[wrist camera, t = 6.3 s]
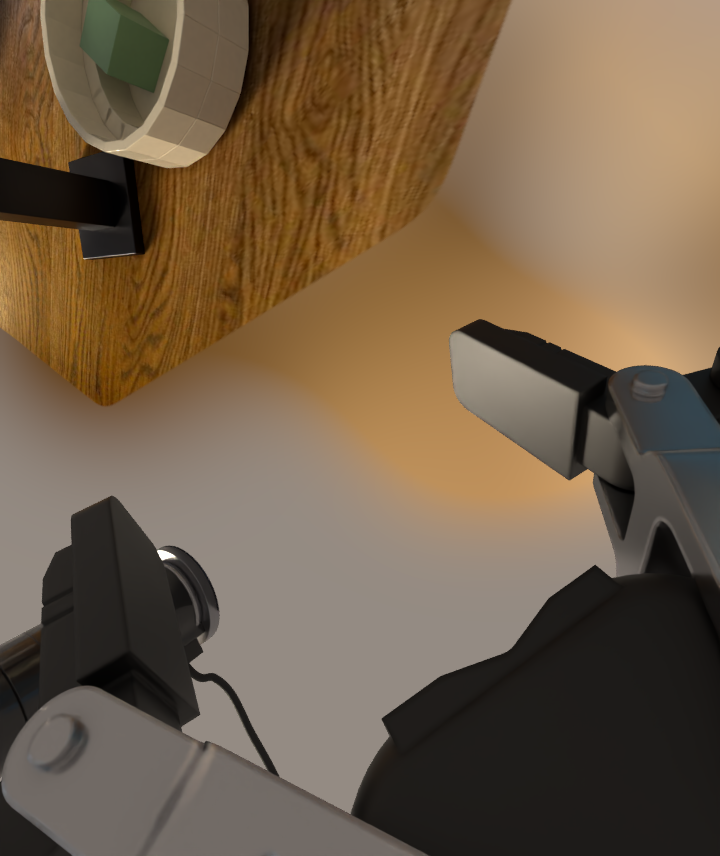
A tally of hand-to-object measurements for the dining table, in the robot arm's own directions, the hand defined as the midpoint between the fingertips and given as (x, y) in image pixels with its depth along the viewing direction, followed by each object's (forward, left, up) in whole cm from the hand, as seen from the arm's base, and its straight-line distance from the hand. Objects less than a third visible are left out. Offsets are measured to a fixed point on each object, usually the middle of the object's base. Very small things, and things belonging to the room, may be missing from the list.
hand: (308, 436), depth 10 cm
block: (+35, +16, -21) cm, 44 cm away
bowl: (+33, +14, -21) cm, 42 cm away
